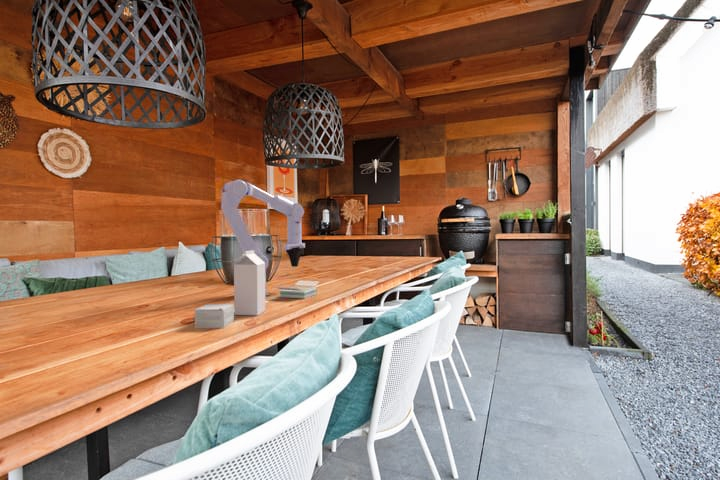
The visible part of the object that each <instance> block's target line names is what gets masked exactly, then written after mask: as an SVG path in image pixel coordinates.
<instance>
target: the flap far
mask: <svg viewBox="0 0 720 480" xmlns="http://www.w3.org/2000/svg"><path fill="white" fill-rule="evenodd" d="M319 283H320V281H317V280H302V279H301V280H298V281H297V282H295V284H294V285H293V286H296V287H314V288H317V285H318V284H319Z"/></svg>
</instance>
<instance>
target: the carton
mask: <svg viewBox="0 0 720 480" xmlns="http://www.w3.org/2000/svg"><path fill="white" fill-rule="evenodd" d="M292 287H293V288H300V289H303V291H296V290H281V289H279V297H280V298H286V299H287V298H289V299H301V300H304V299H308V298H310V297H313V296H315V295H317V291H318V290H317V287H307V286H294V285H293V286H292Z"/></svg>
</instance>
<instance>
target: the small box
mask: <svg viewBox="0 0 720 480" xmlns="http://www.w3.org/2000/svg"><path fill="white" fill-rule="evenodd" d="M234 316H235V315H234V304H233V303H205V304H204V305H202V306H199V307H198V308H196V309H194V328H195V329H225V328H226V327H227V326H229V325H231V324H233V322H234V321H235V317H234Z"/></svg>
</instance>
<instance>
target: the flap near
mask: <svg viewBox="0 0 720 480" xmlns="http://www.w3.org/2000/svg"><path fill="white" fill-rule="evenodd" d="M275 288H277V289H279V290H296V291H303V289H300V288H293V286H289V287H288V286H275Z"/></svg>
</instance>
